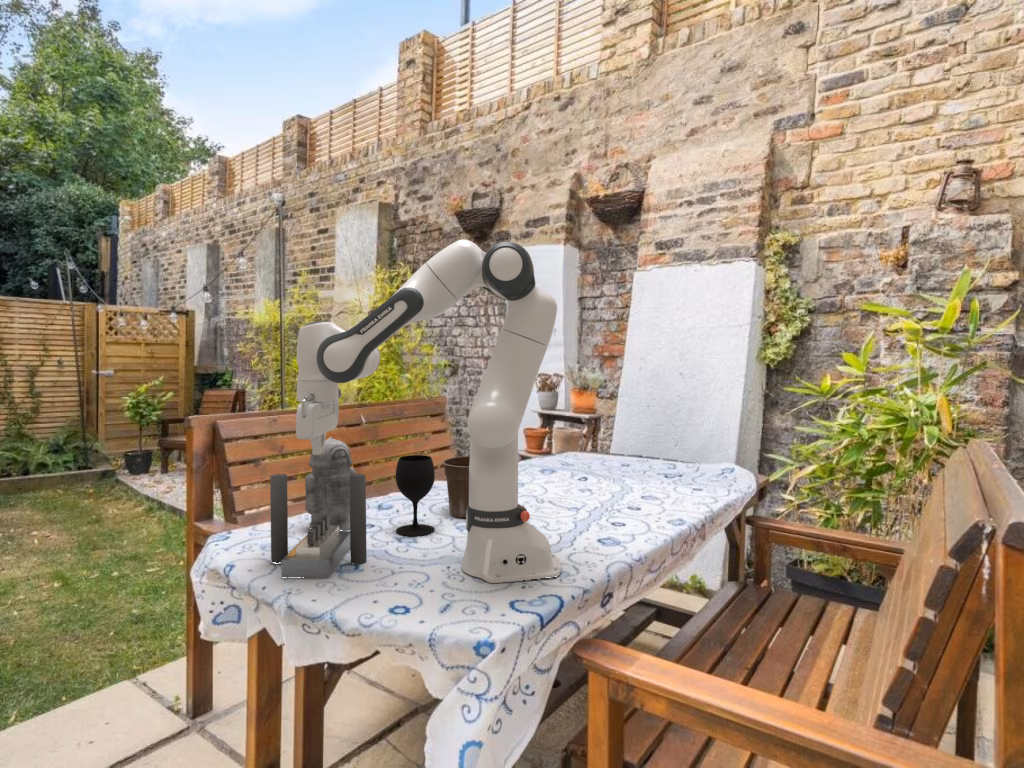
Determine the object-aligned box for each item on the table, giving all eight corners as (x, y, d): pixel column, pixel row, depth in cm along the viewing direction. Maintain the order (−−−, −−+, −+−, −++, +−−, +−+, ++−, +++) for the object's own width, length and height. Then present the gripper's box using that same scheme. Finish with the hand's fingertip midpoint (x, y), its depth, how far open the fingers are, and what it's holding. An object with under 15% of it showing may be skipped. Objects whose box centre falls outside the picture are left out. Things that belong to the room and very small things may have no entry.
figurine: (299, 530, 157) (298, 438, 156) (345, 519, 168) (344, 433, 167) (318, 537, 151) (317, 442, 150) (364, 525, 162) (364, 436, 160)
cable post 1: (290, 559, 135) (289, 474, 134) (284, 564, 132) (283, 477, 131) (274, 559, 135) (273, 474, 134) (268, 564, 132) (267, 477, 131)
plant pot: (462, 525, 164) (462, 468, 163) (432, 512, 176) (432, 459, 175) (507, 515, 174) (507, 461, 173) (475, 504, 186) (475, 454, 185)
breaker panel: (351, 547, 144) (351, 523, 144) (329, 578, 124) (328, 550, 124) (310, 547, 144) (310, 523, 143) (281, 578, 124) (281, 550, 123)
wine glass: (440, 527, 161) (440, 455, 160) (425, 538, 151) (425, 462, 150) (406, 524, 164) (406, 453, 163) (388, 535, 154) (388, 460, 153)
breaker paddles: (329, 526, 140) (329, 515, 140) (313, 544, 127) (312, 531, 127) (324, 526, 140) (324, 515, 140) (307, 544, 127) (307, 531, 127)
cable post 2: (368, 558, 136) (367, 474, 135) (364, 564, 132) (363, 477, 131) (352, 558, 136) (351, 474, 135) (348, 564, 132) (347, 477, 131)
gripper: (318, 396, 122) (318, 462, 122) (343, 390, 142) (343, 446, 143) (287, 396, 121) (288, 462, 122) (317, 390, 142) (317, 446, 142)
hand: (318, 453), depth 133 cm, fingers closed
